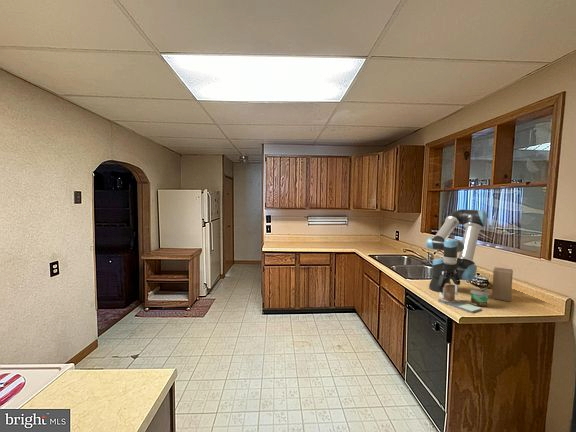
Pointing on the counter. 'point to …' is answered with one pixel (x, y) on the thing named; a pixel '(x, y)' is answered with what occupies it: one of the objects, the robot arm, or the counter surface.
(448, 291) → the walnut pillar
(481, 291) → the food container
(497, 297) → the wooden block
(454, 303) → the board
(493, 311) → the counter surface
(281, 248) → the counter surface
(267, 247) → the counter surface
